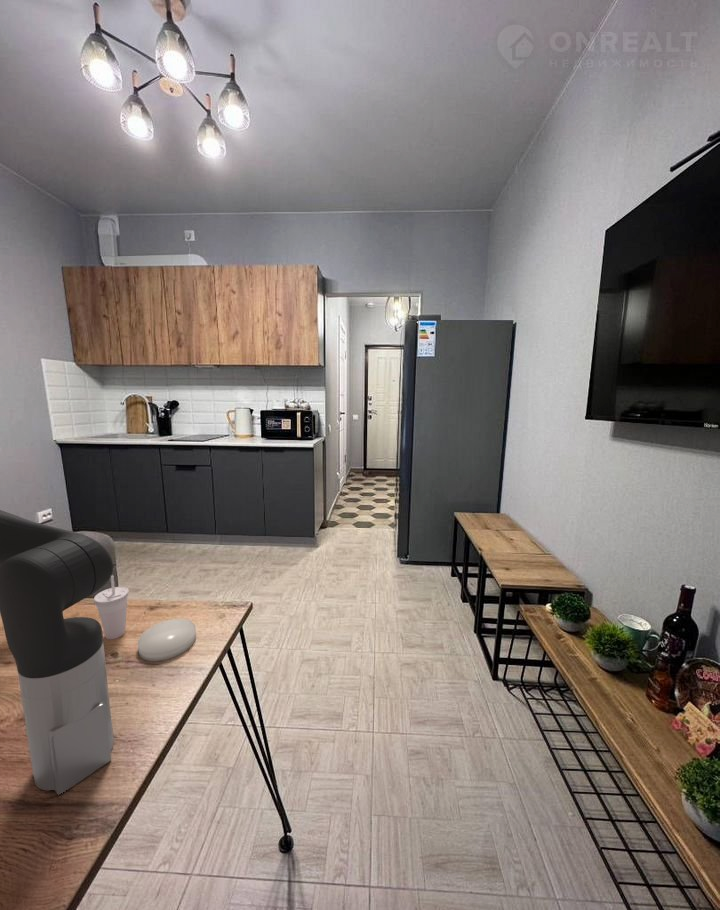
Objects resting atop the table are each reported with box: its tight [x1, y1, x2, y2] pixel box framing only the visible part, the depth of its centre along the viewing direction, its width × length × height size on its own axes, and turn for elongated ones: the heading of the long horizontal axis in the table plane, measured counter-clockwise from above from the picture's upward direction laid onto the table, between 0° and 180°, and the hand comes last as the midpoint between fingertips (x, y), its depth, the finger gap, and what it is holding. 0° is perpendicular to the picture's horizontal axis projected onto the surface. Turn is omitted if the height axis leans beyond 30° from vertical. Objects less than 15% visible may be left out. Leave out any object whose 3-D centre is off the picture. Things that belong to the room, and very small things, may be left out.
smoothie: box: [93, 574, 130, 640], centre depth 79 cm, size 6×6×14 cm
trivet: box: [137, 618, 197, 662], centre depth 77 cm, size 11×11×2 cm
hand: (51, 574), depth 76 cm, fingers open, 8 cm apart
